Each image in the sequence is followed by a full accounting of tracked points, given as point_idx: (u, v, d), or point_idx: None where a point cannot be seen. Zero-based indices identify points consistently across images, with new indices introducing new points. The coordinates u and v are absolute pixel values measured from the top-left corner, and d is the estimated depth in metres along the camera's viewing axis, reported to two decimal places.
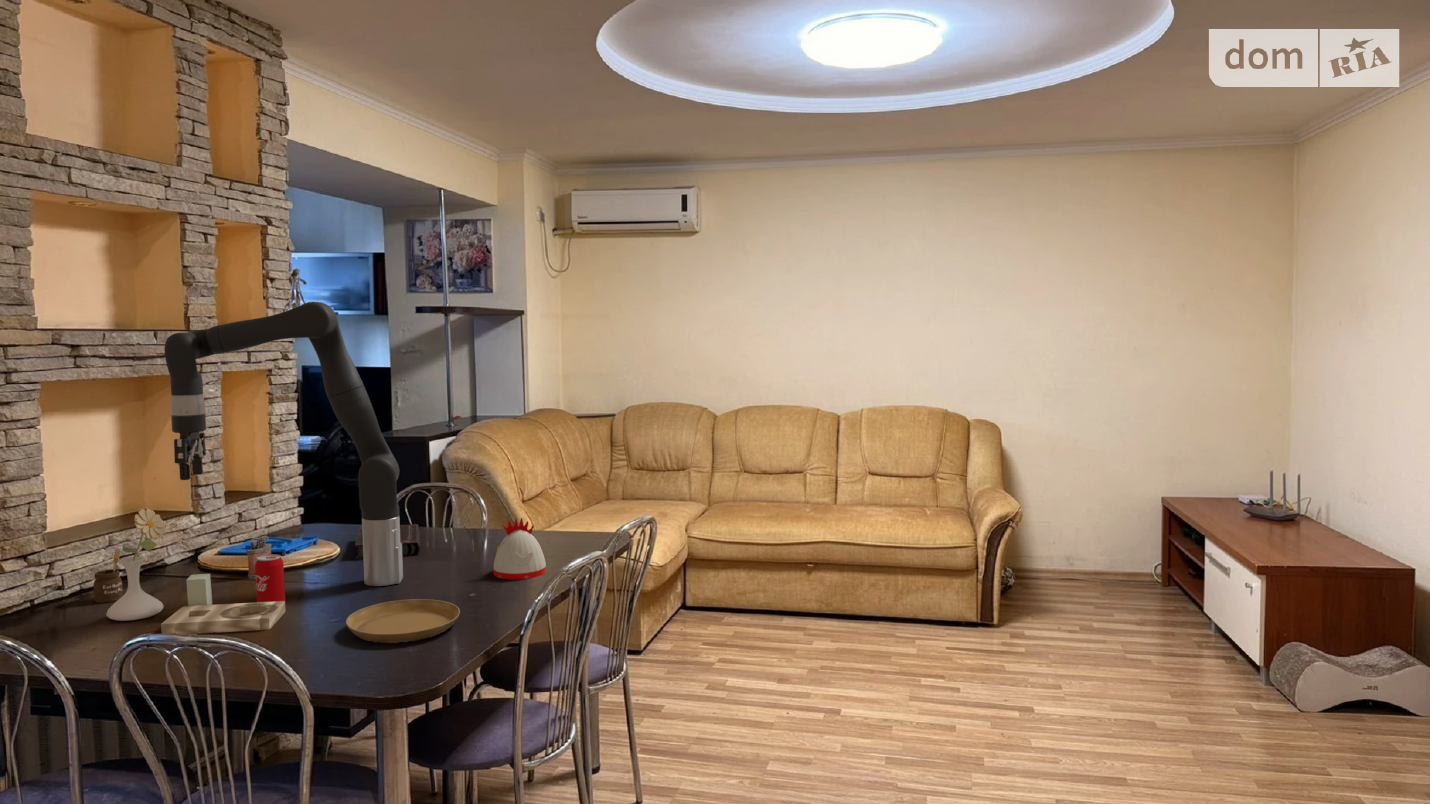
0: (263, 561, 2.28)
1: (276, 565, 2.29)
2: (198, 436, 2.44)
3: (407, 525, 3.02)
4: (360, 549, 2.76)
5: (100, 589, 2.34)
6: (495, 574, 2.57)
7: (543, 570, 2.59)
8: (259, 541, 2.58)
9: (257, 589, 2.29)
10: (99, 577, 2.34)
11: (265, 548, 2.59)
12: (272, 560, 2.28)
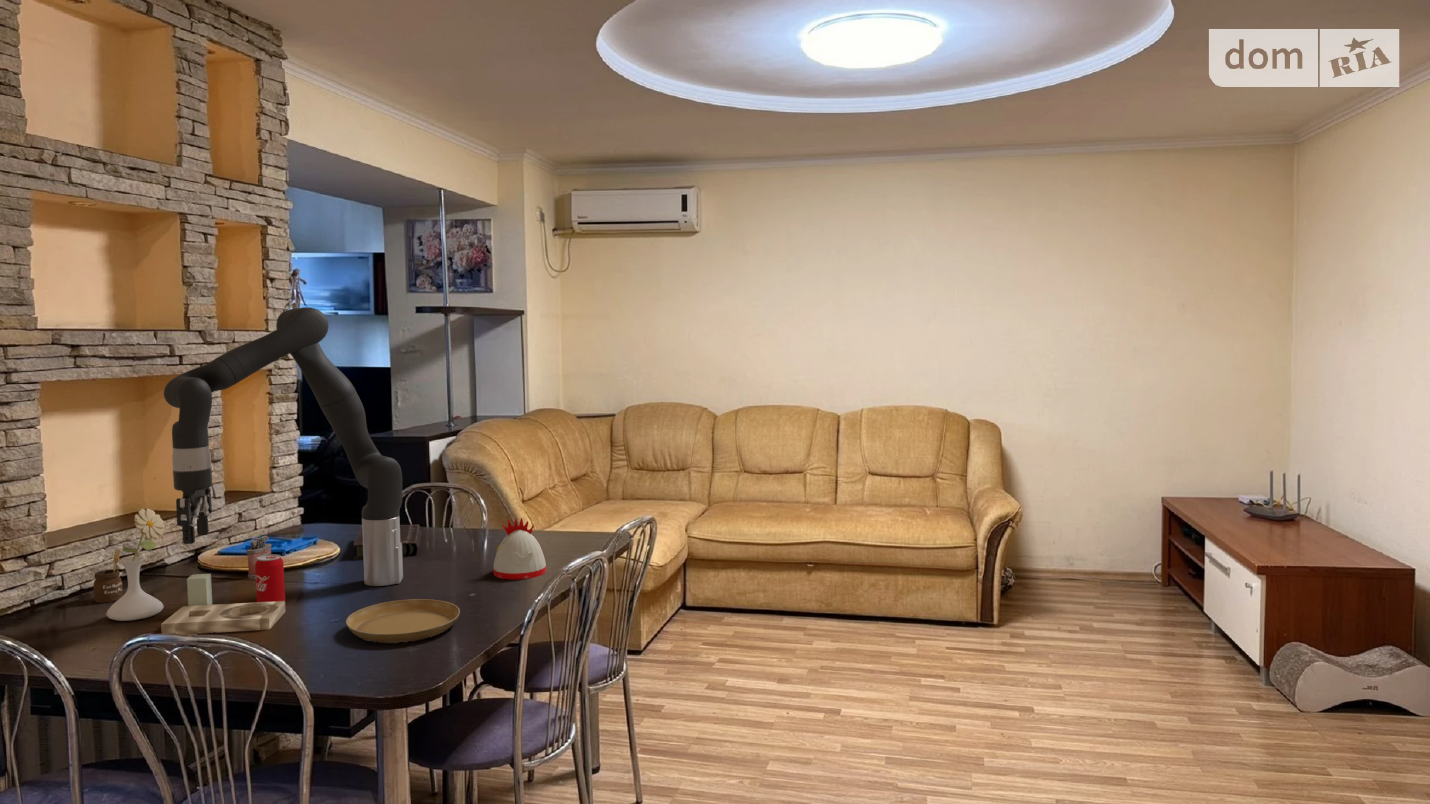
0: (263, 561, 2.28)
1: (276, 565, 2.29)
2: (203, 492, 2.17)
3: (408, 525, 3.02)
4: (358, 549, 2.76)
5: (100, 589, 2.34)
6: (495, 574, 2.57)
7: (543, 570, 2.59)
8: (259, 541, 2.58)
9: (257, 589, 2.29)
10: (99, 577, 2.34)
11: (265, 548, 2.59)
12: (272, 560, 2.28)
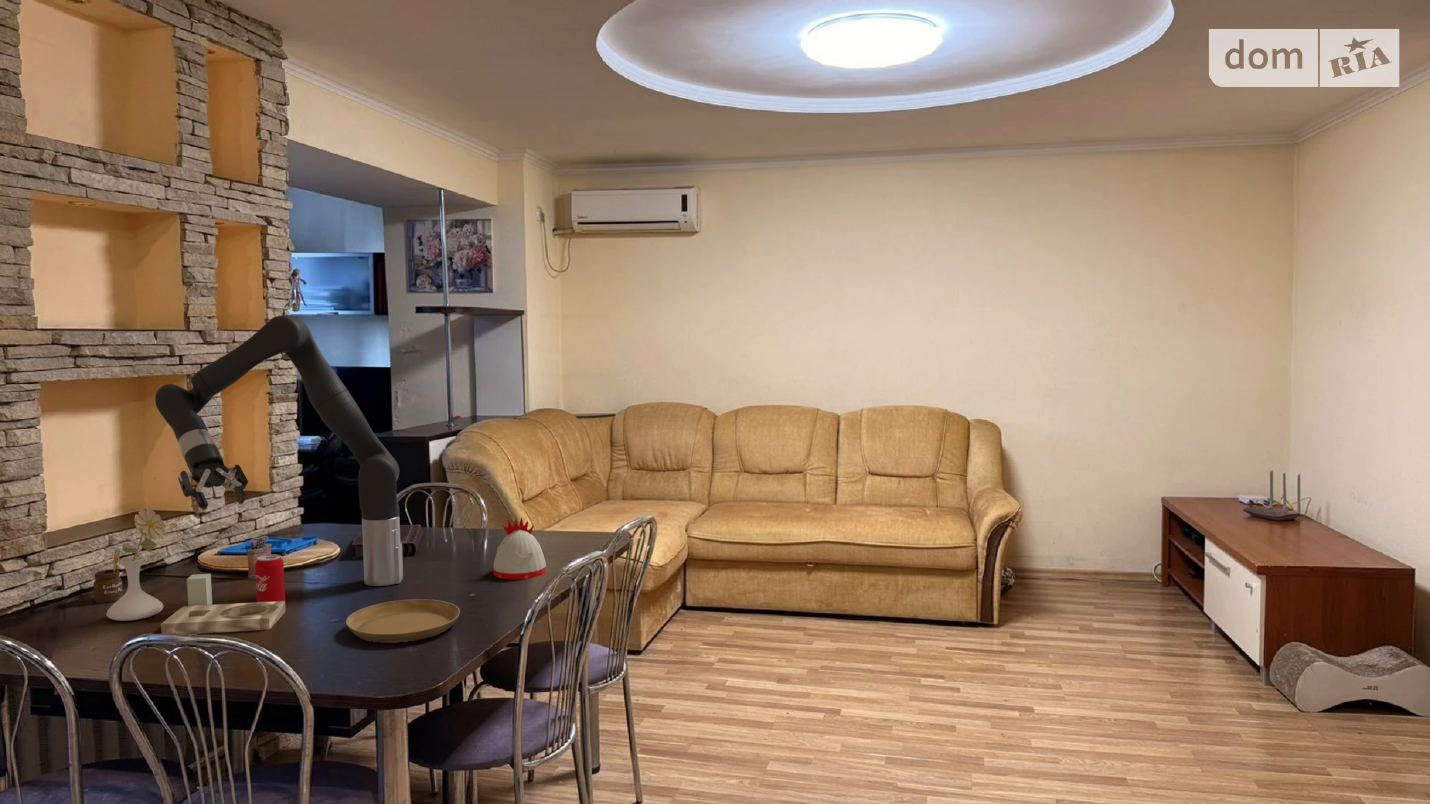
0: (263, 561, 2.28)
1: (276, 565, 2.29)
2: (223, 468, 2.34)
3: (410, 525, 3.01)
4: (357, 549, 2.76)
5: (100, 589, 2.34)
6: (495, 574, 2.57)
7: (543, 570, 2.59)
8: (259, 541, 2.58)
9: (257, 589, 2.29)
10: (99, 577, 2.34)
11: (265, 548, 2.59)
12: (272, 560, 2.28)
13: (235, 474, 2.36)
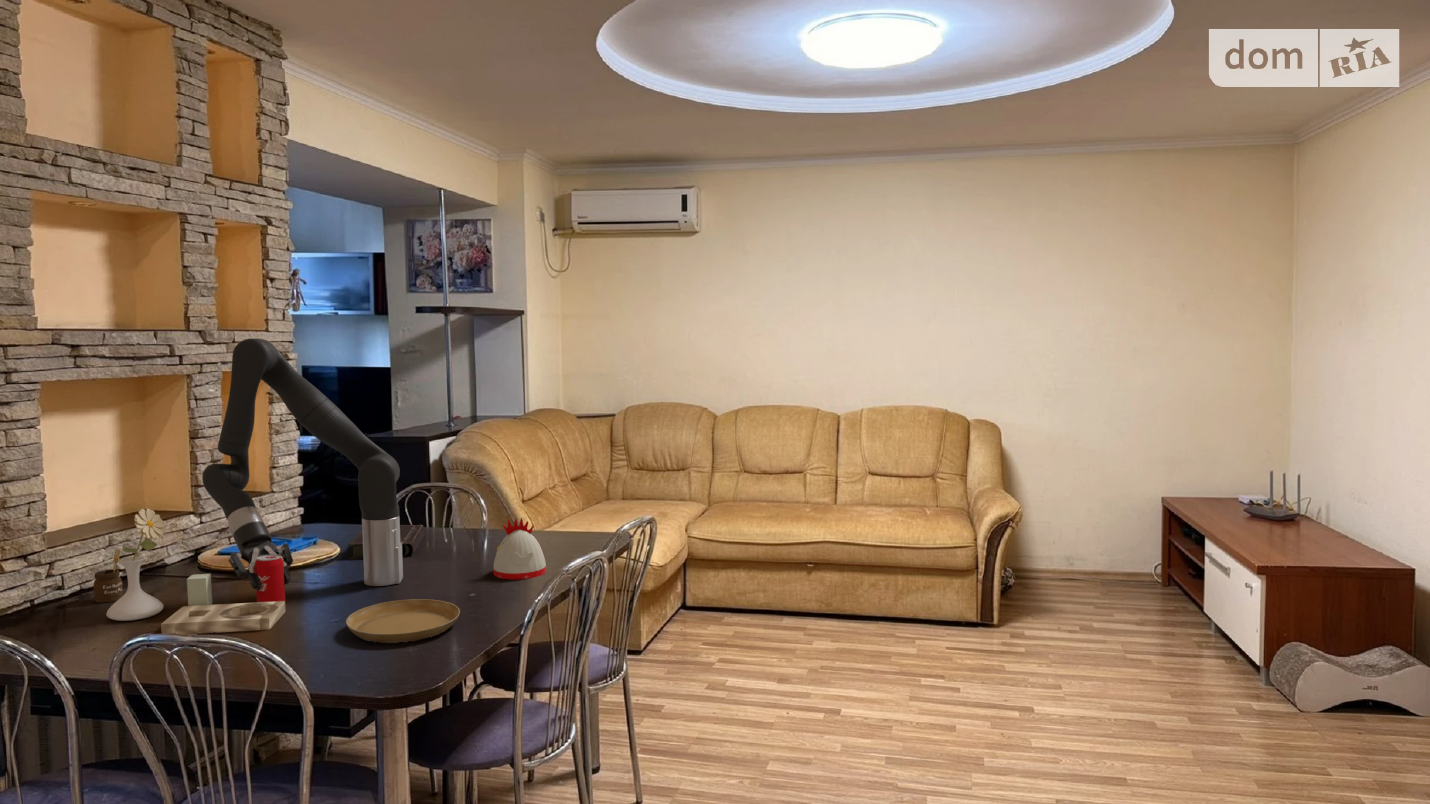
0: (263, 561, 2.28)
1: (276, 565, 2.29)
2: (271, 545, 2.35)
3: (412, 525, 3.01)
4: (354, 549, 2.77)
5: (100, 589, 2.34)
6: (495, 574, 2.57)
7: (543, 570, 2.59)
8: None
9: None
10: (99, 577, 2.34)
11: None
12: (272, 560, 2.28)
13: (282, 552, 2.37)
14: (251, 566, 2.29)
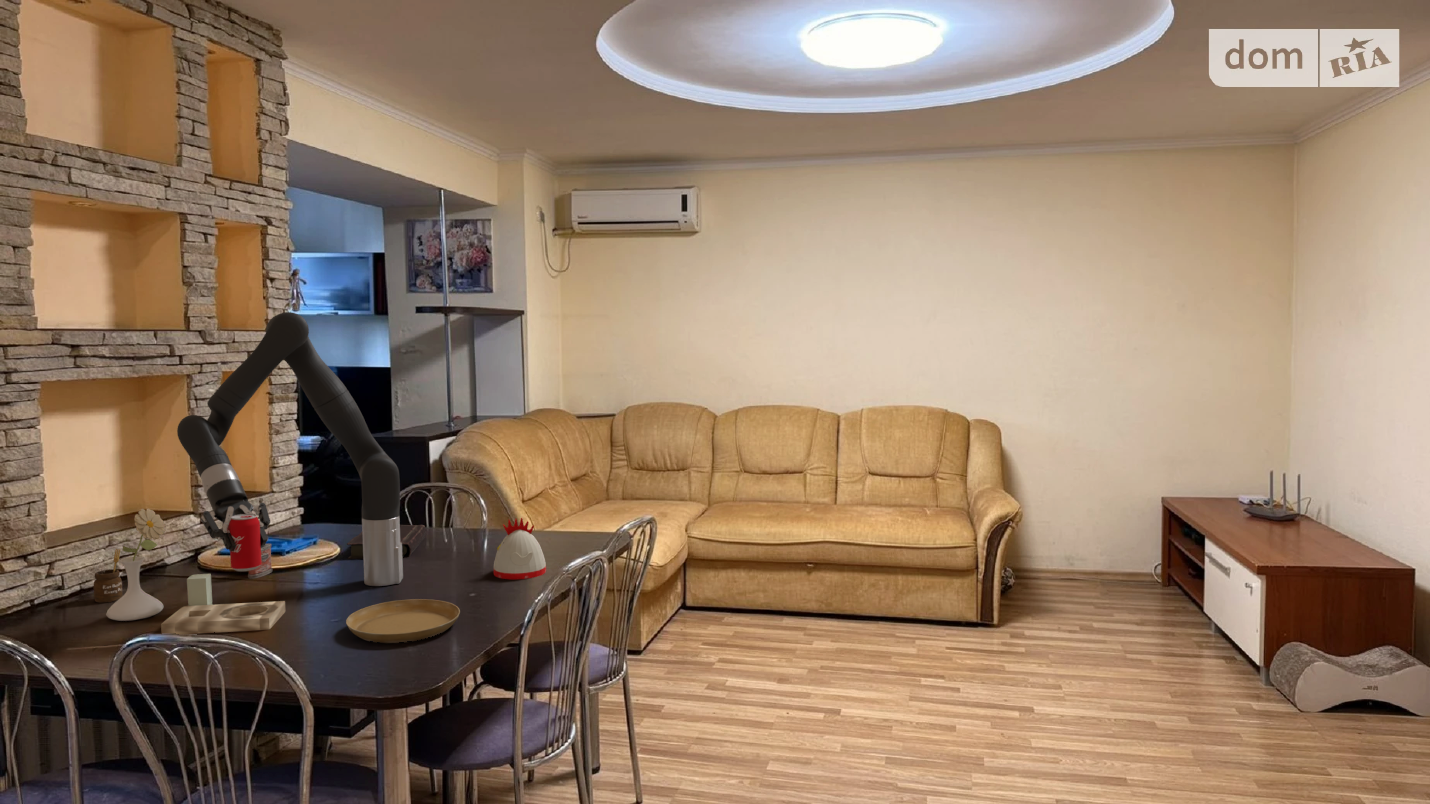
0: (237, 520, 2.13)
1: (252, 524, 2.14)
2: (247, 504, 2.21)
3: (414, 525, 3.01)
4: (353, 548, 2.77)
5: (100, 589, 2.34)
6: (495, 574, 2.57)
7: (543, 570, 2.59)
8: None
9: None
10: (99, 577, 2.34)
11: (265, 548, 2.59)
12: (247, 519, 2.14)
13: (259, 512, 2.22)
14: (225, 526, 2.14)
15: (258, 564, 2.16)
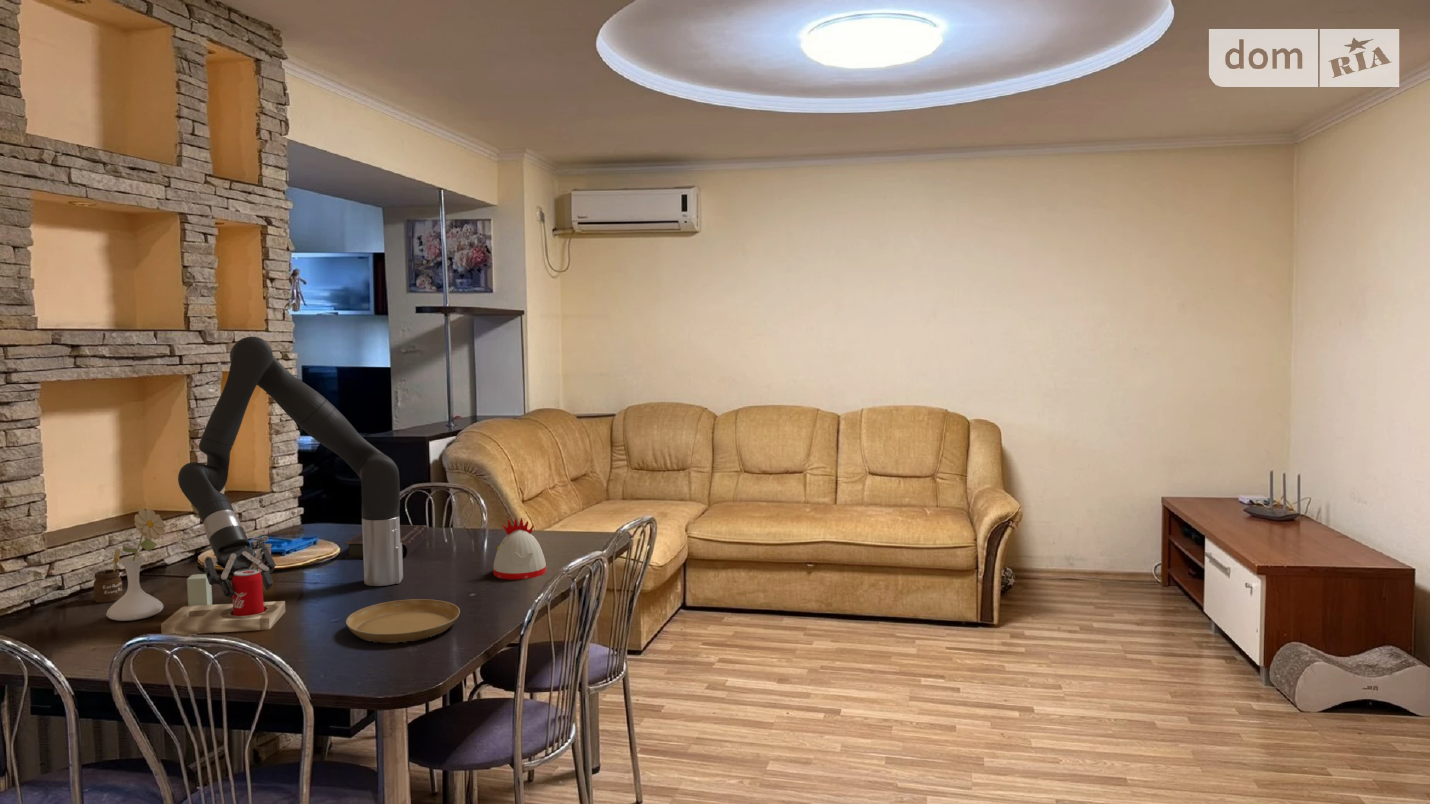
0: (240, 576, 2.14)
1: (255, 580, 2.15)
2: (249, 551, 2.22)
3: (415, 526, 3.01)
4: (350, 548, 2.77)
5: (100, 589, 2.34)
6: (495, 574, 2.57)
7: (543, 570, 2.59)
8: (259, 541, 2.58)
9: (234, 606, 2.15)
10: (99, 577, 2.34)
11: None
12: (250, 575, 2.15)
13: (262, 557, 2.24)
14: (224, 572, 2.15)
15: None
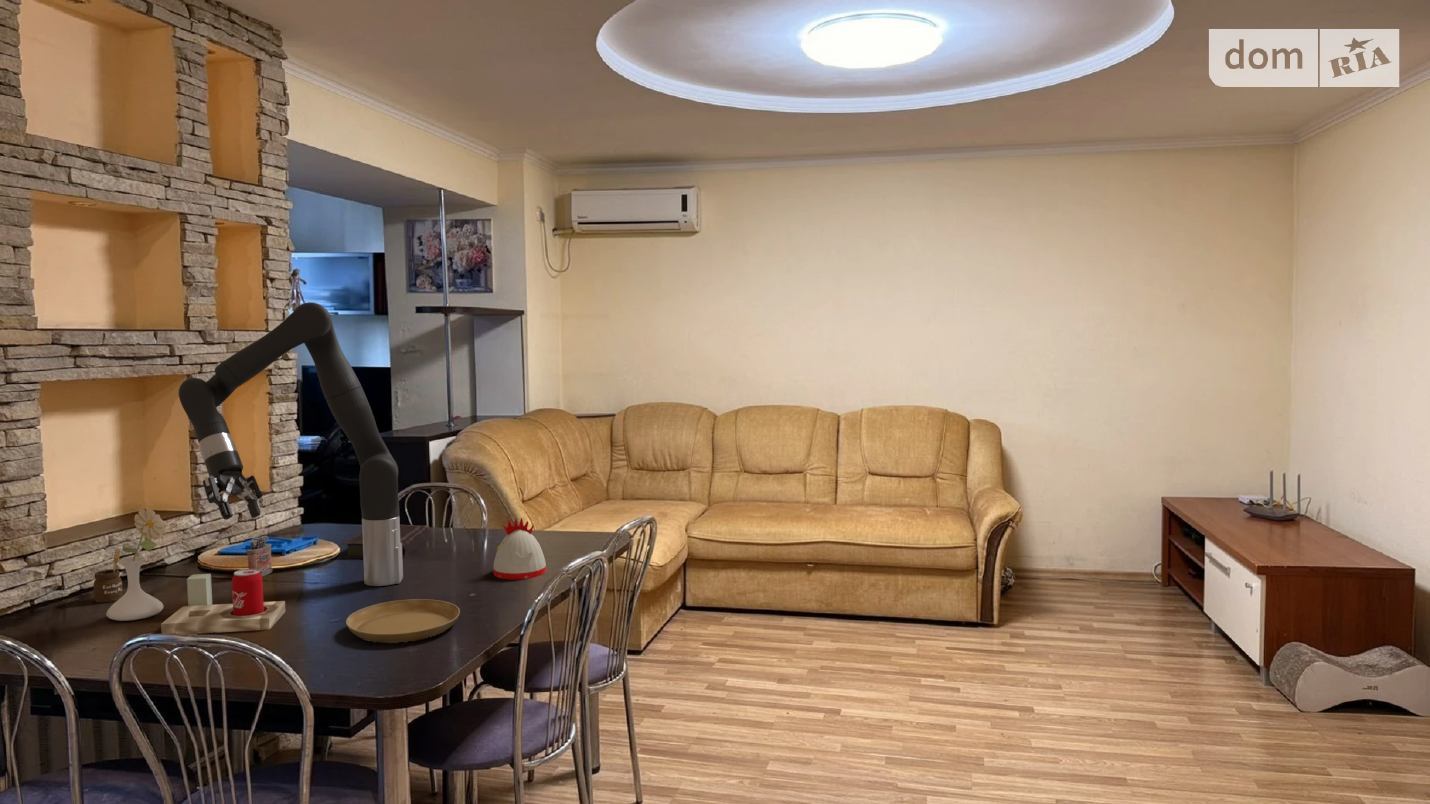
0: (240, 576, 2.14)
1: (255, 580, 2.15)
2: (241, 477, 2.32)
3: (417, 526, 3.01)
4: (349, 548, 2.78)
5: (100, 589, 2.34)
6: (495, 574, 2.57)
7: (543, 570, 2.59)
8: (259, 541, 2.58)
9: (234, 606, 2.15)
10: (99, 577, 2.34)
11: (265, 548, 2.59)
12: (250, 575, 2.15)
13: (249, 485, 2.35)
14: (224, 494, 2.25)
15: None
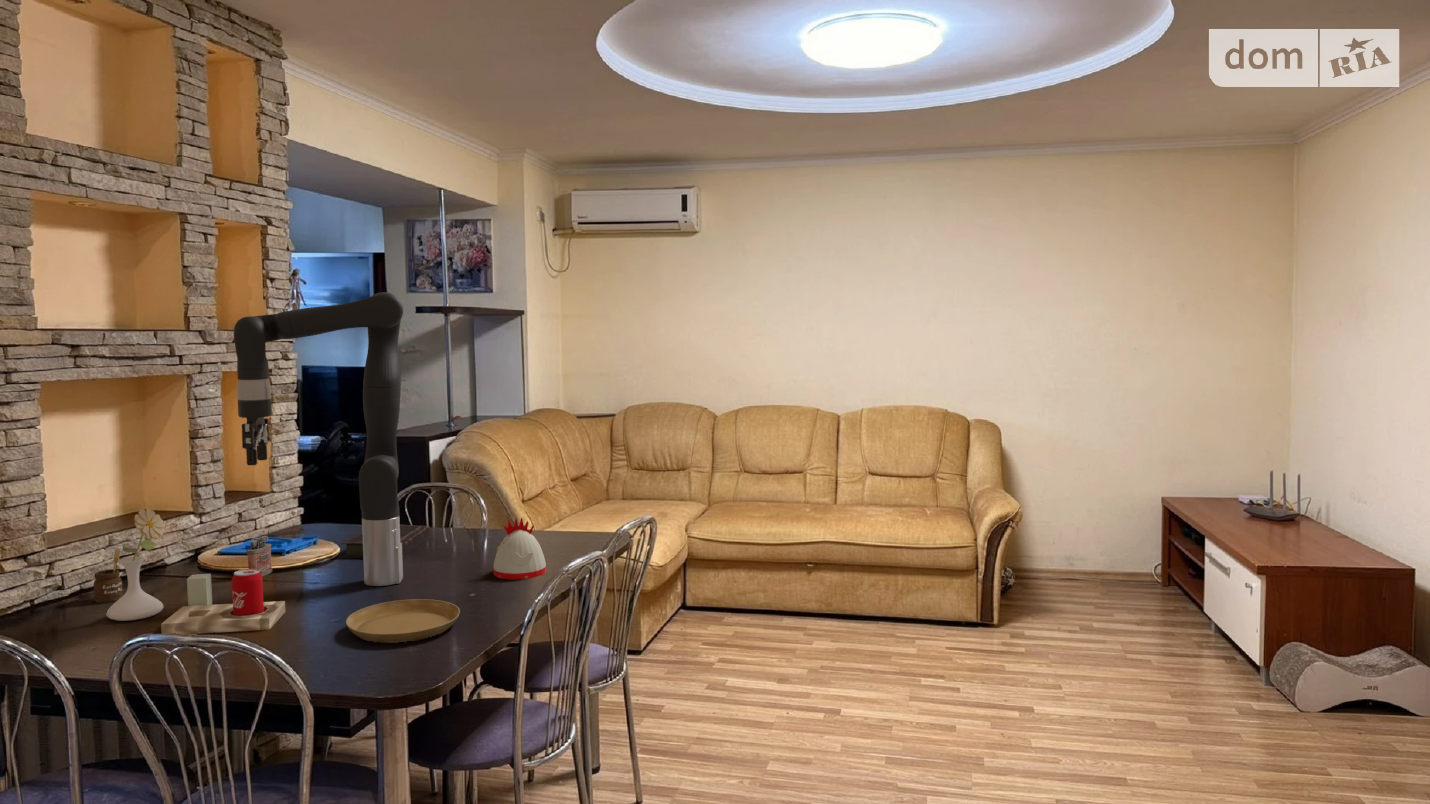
0: (240, 576, 2.14)
1: (255, 580, 2.15)
2: (263, 421, 2.41)
3: (418, 526, 3.00)
4: (348, 548, 2.78)
5: (100, 589, 2.34)
6: (495, 574, 2.57)
7: (543, 570, 2.59)
8: (259, 541, 2.58)
9: (234, 606, 2.15)
10: (99, 577, 2.34)
11: (265, 548, 2.59)
12: (250, 575, 2.15)
13: None
14: (256, 442, 2.35)
15: None
